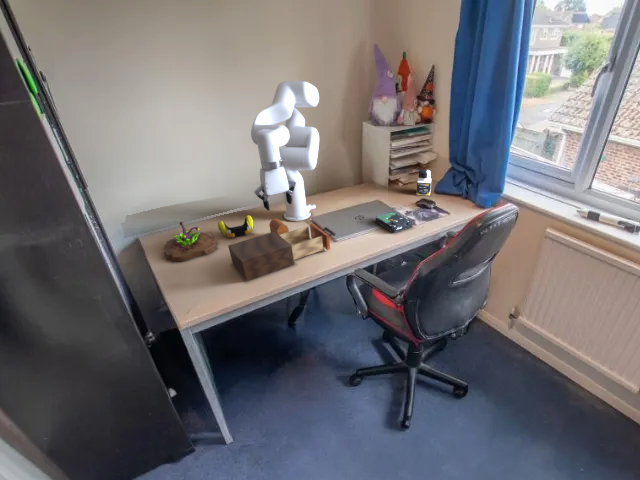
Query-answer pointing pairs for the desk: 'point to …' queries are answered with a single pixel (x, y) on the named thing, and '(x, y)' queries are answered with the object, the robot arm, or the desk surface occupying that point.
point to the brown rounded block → (278, 227)
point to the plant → (189, 245)
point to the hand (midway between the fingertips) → (278, 206)
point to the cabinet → (261, 255)
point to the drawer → (308, 240)
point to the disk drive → (394, 222)
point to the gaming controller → (236, 228)
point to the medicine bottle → (424, 182)
